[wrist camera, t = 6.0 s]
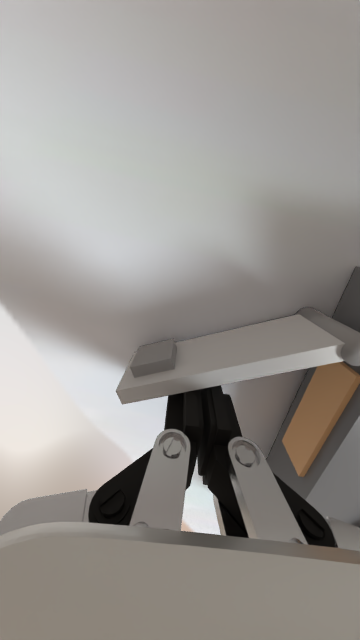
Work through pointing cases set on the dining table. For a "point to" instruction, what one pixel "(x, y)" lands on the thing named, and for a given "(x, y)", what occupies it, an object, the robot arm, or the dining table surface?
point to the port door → (238, 355)
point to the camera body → (326, 430)
